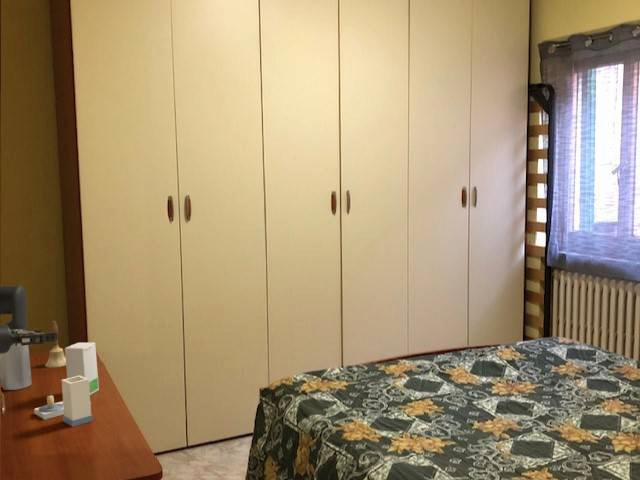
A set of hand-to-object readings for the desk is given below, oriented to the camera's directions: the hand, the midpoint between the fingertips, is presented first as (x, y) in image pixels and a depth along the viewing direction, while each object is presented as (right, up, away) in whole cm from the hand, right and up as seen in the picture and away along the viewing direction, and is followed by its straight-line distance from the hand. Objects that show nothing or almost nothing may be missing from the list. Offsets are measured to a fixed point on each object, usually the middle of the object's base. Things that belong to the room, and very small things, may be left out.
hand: (48, 335), depth 192 cm
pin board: (-2, -24, +18) cm, 30 cm away
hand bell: (-22, -20, +66) cm, 72 cm away
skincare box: (-1, -23, +32) cm, 40 cm away
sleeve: (+5, -25, +9) cm, 27 cm away
